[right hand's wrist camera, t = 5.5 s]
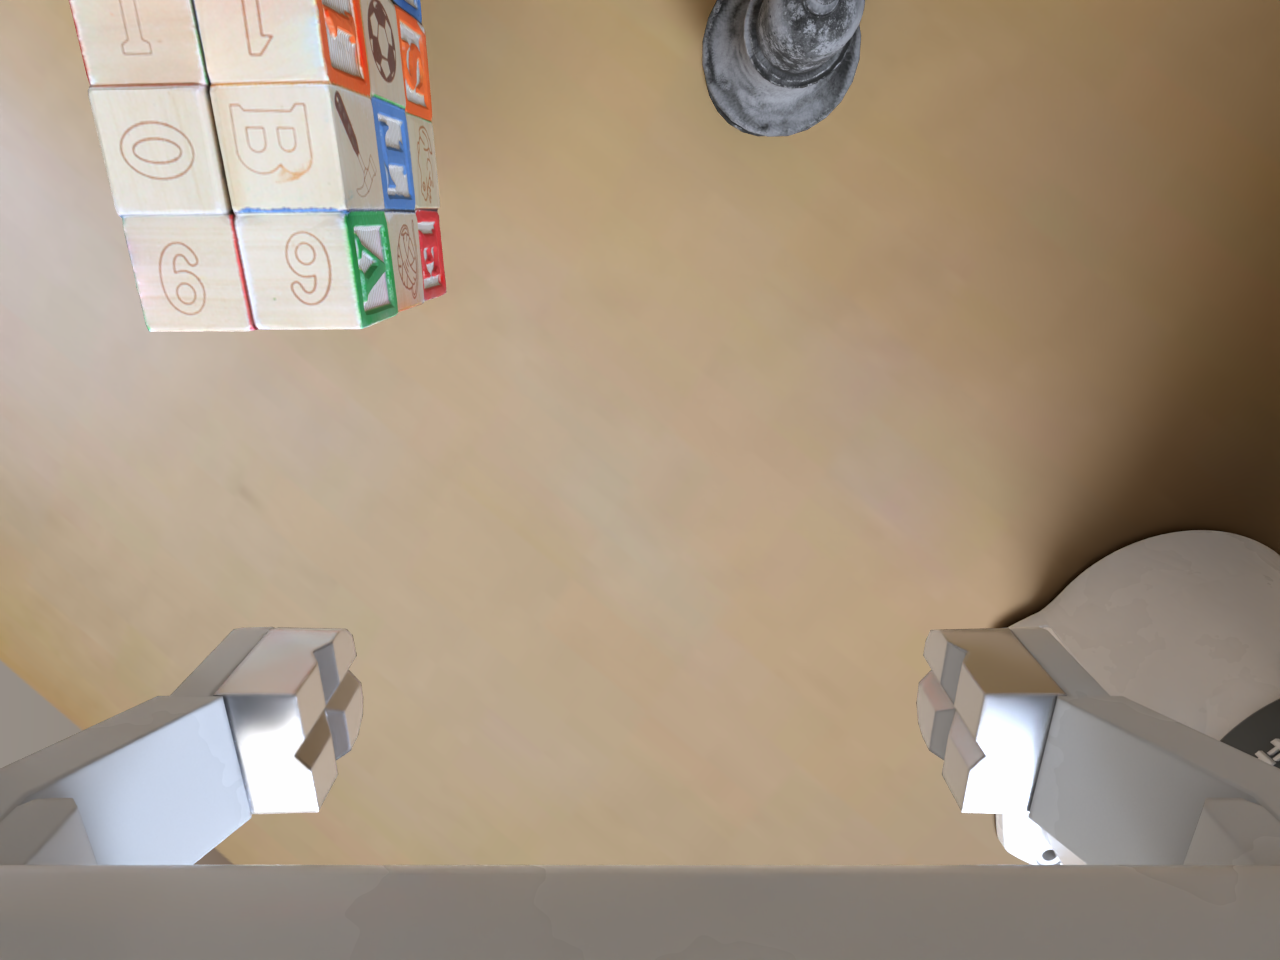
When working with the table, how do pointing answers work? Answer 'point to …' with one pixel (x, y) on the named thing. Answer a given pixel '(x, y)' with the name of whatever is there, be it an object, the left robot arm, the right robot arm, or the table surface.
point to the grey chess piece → (780, 61)
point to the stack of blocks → (268, 158)
